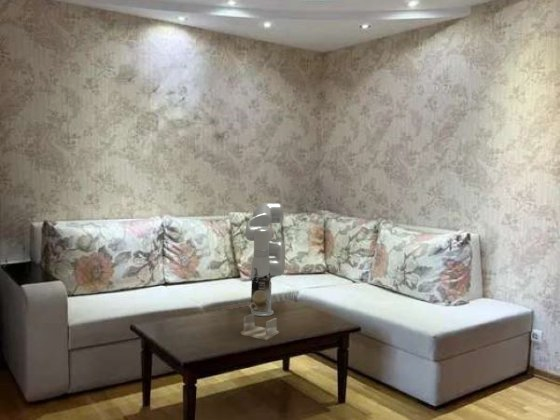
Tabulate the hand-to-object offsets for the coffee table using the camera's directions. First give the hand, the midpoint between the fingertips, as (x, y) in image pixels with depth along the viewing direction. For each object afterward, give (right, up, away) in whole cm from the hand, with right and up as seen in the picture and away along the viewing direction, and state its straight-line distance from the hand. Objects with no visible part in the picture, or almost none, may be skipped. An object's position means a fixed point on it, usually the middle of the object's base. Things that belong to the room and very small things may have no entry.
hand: (260, 288), depth 251 cm
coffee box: (0, -11, +1) cm, 11 cm away
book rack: (-1, -23, +2) cm, 23 cm away
